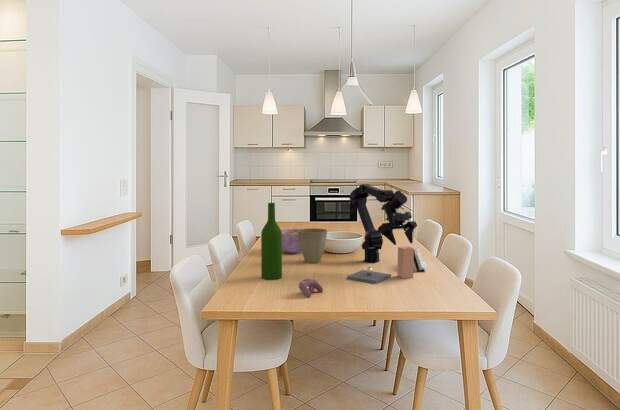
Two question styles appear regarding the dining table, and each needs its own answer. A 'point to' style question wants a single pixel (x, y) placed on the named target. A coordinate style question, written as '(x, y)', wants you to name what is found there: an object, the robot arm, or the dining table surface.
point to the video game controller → (311, 283)
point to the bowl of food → (290, 241)
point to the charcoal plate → (374, 278)
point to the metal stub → (369, 271)
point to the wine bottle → (271, 247)
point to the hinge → (418, 261)
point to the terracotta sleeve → (405, 262)
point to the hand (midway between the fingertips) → (403, 243)
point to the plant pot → (312, 243)
